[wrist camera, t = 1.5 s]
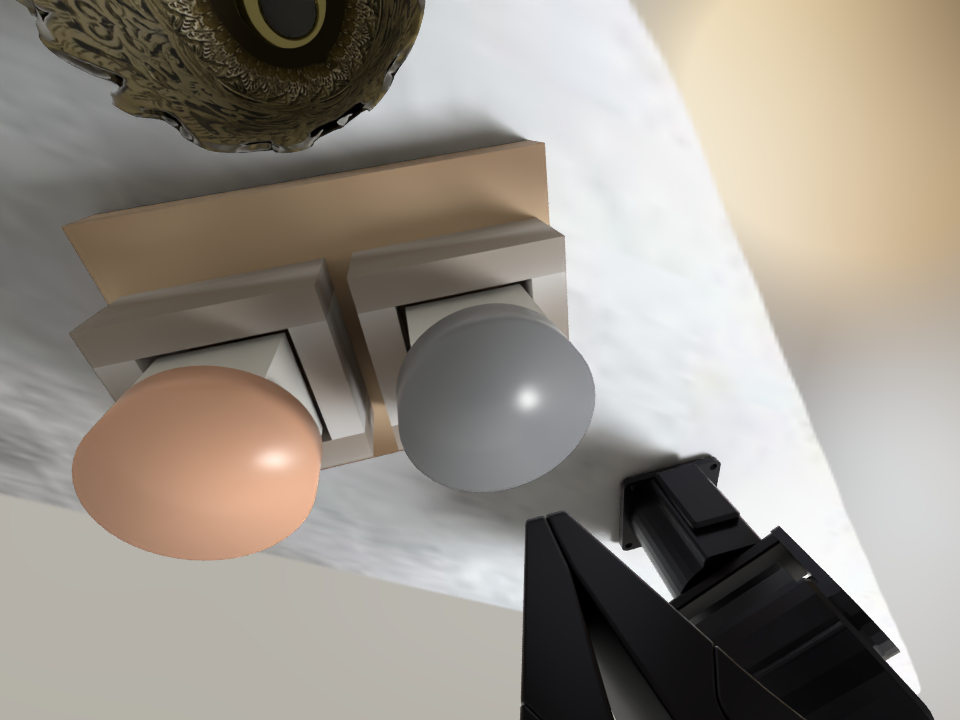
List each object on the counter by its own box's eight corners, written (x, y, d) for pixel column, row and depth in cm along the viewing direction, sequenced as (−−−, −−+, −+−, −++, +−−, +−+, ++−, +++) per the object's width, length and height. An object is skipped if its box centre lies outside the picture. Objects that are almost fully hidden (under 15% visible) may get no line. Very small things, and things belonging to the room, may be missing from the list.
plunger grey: (549, 392, 18) (595, 466, 14) (412, 424, 17) (421, 511, 14) (540, 257, 15) (594, 304, 11) (375, 289, 14) (374, 352, 11)
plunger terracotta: (350, 438, 17) (342, 531, 13) (199, 474, 16) (145, 580, 13) (301, 304, 14) (272, 373, 10) (116, 341, 14) (16, 428, 10)
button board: (547, 390, 23) (584, 453, 19) (235, 463, 22) (200, 549, 18) (528, 139, 17) (577, 148, 13) (95, 214, 16) (-10, 251, 12)
